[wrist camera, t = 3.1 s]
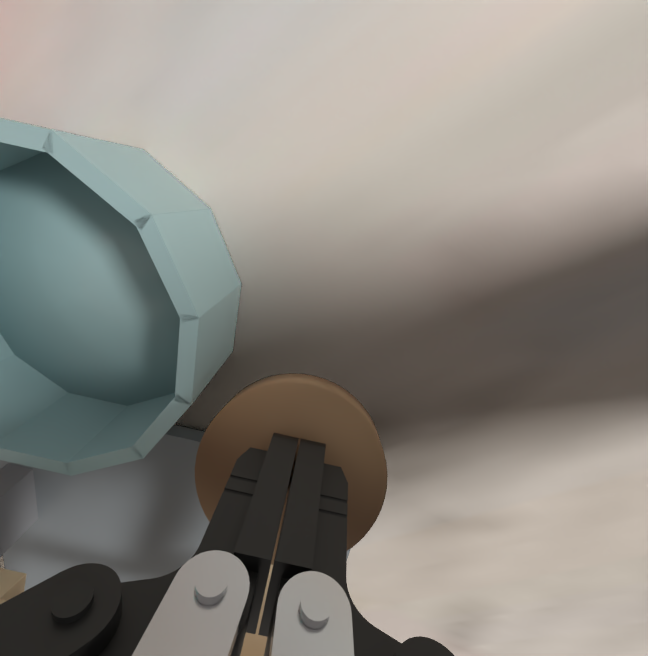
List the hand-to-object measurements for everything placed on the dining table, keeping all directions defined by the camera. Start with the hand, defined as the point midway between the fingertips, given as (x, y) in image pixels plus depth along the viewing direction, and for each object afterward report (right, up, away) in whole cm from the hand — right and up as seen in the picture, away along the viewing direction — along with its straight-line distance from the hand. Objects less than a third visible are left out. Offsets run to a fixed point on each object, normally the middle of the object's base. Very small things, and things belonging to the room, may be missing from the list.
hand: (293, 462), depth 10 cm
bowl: (-9, +6, +6) cm, 12 cm away
